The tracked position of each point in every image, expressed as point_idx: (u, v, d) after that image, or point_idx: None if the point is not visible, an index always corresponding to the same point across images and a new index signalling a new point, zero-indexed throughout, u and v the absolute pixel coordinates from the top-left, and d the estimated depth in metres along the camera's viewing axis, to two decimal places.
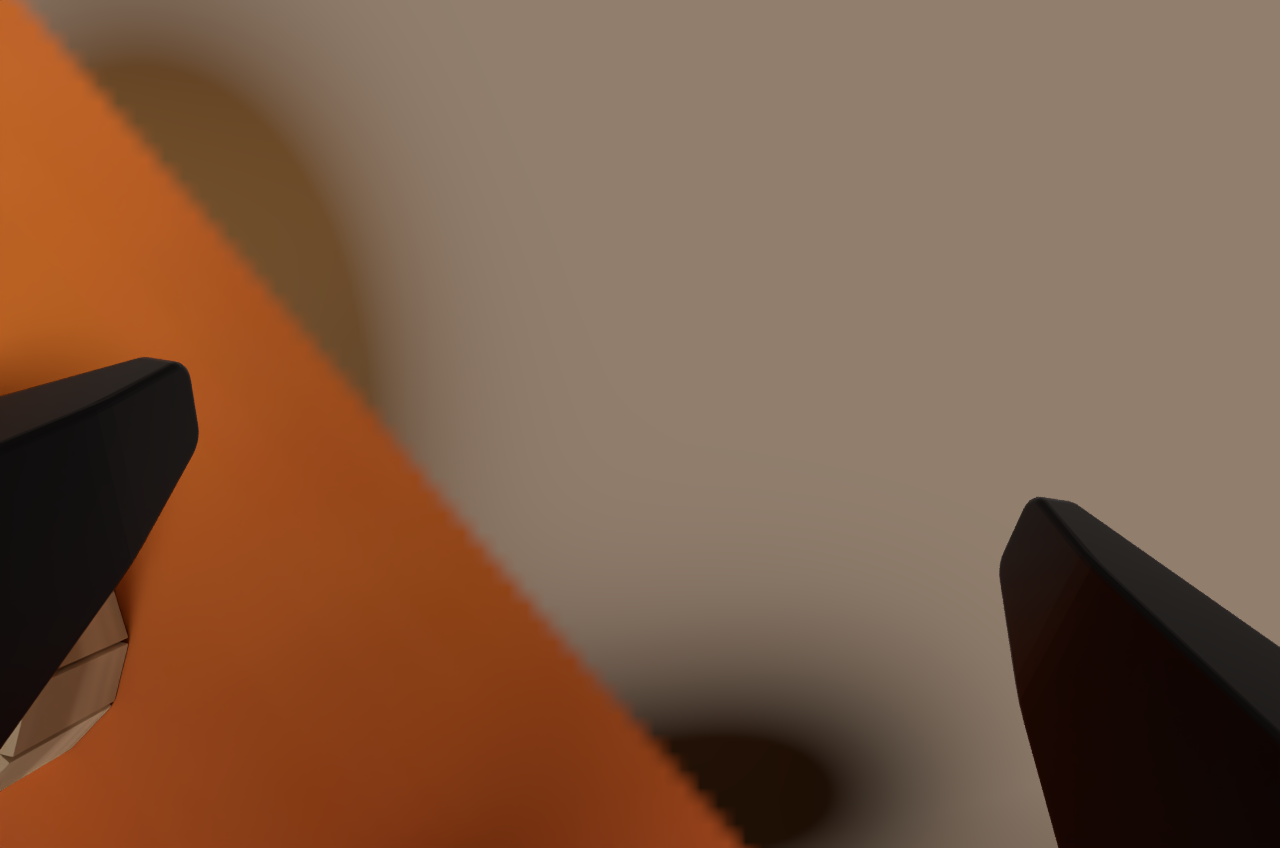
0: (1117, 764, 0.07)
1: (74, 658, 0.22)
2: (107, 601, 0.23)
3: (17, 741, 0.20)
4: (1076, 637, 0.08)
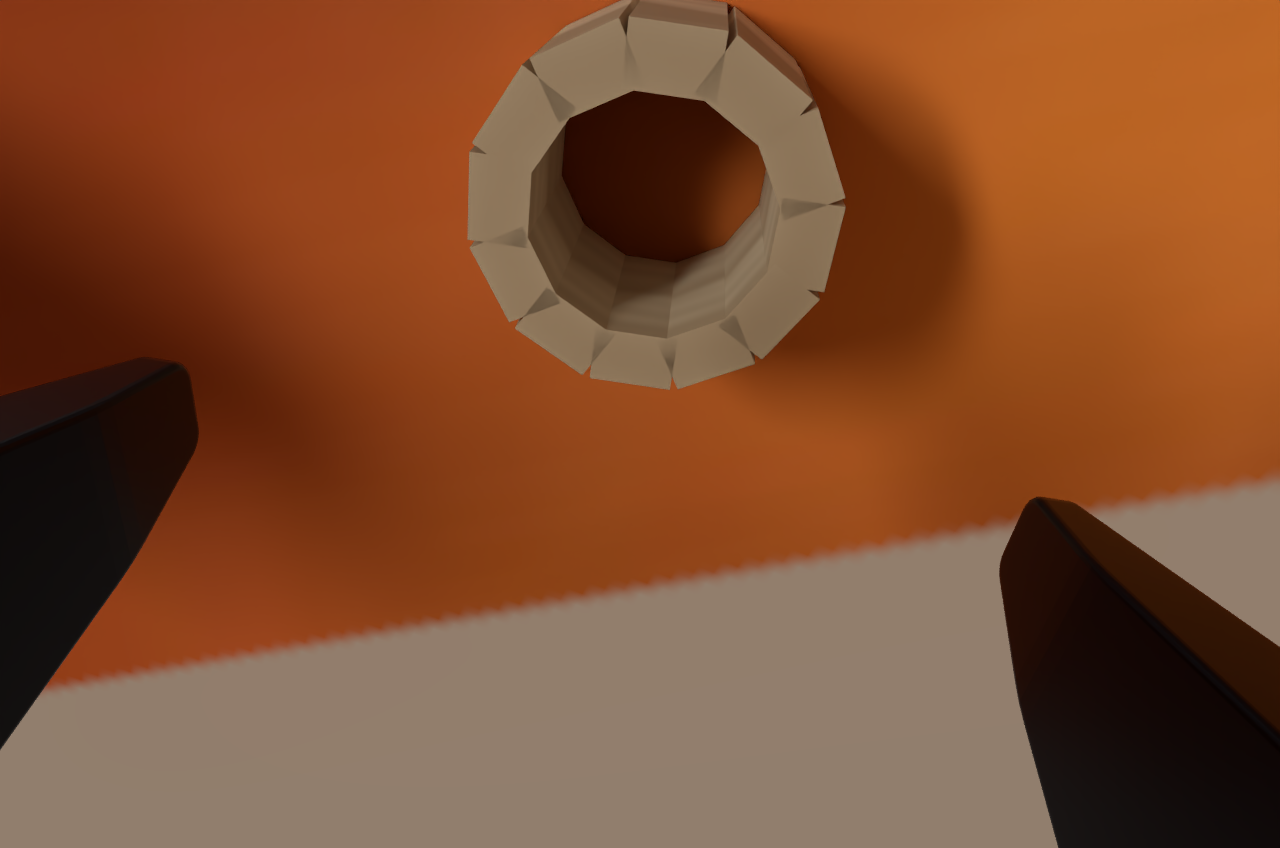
0: (1117, 764, 0.07)
1: None
2: None
3: (530, 337, 0.17)
4: (1076, 637, 0.08)
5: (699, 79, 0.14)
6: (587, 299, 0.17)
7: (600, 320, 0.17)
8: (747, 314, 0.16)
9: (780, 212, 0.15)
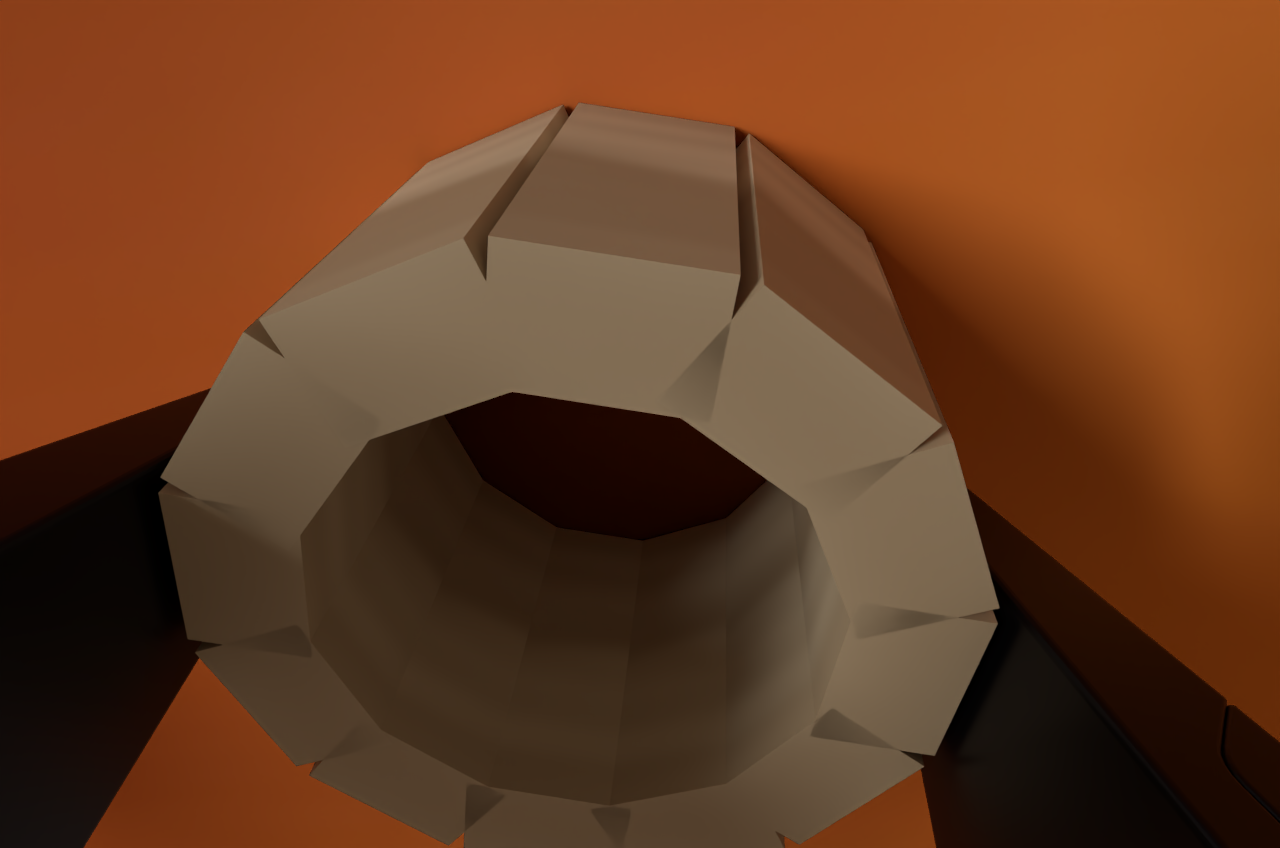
0: (979, 742, 0.07)
1: None
2: None
3: (341, 787, 0.09)
4: None
5: (668, 375, 0.06)
6: (458, 704, 0.09)
7: (478, 761, 0.09)
8: (772, 778, 0.08)
9: (850, 625, 0.07)
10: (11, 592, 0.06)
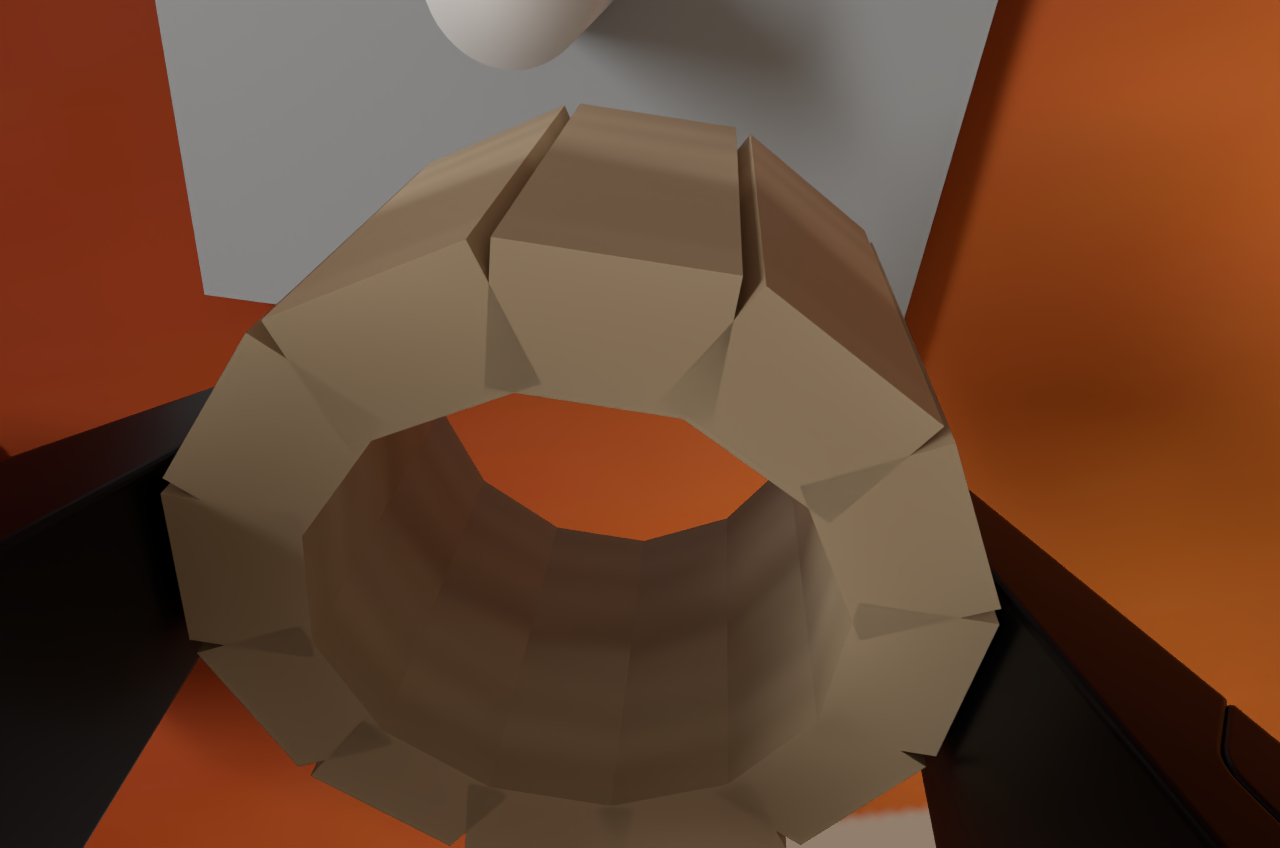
0: (979, 742, 0.07)
1: None
2: None
3: (343, 788, 0.09)
4: None
5: (670, 375, 0.06)
6: (460, 706, 0.09)
7: (480, 761, 0.09)
8: (774, 779, 0.08)
9: (852, 625, 0.07)
10: (11, 592, 0.06)
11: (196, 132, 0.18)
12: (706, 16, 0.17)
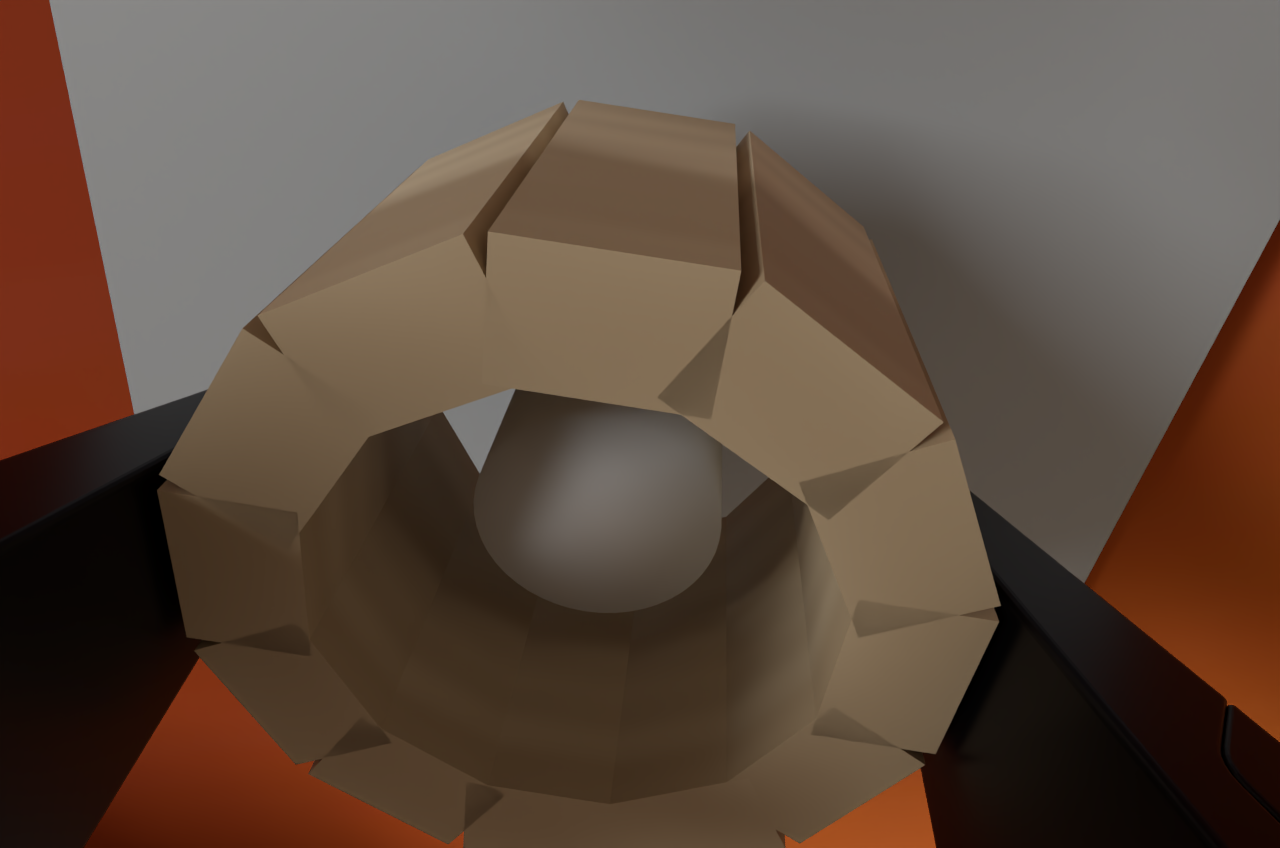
0: (979, 743, 0.07)
1: None
2: None
3: (341, 786, 0.09)
4: None
5: (668, 371, 0.06)
6: (457, 704, 0.09)
7: (478, 760, 0.08)
8: (773, 777, 0.08)
9: (851, 623, 0.07)
10: (11, 591, 0.06)
11: None
12: None
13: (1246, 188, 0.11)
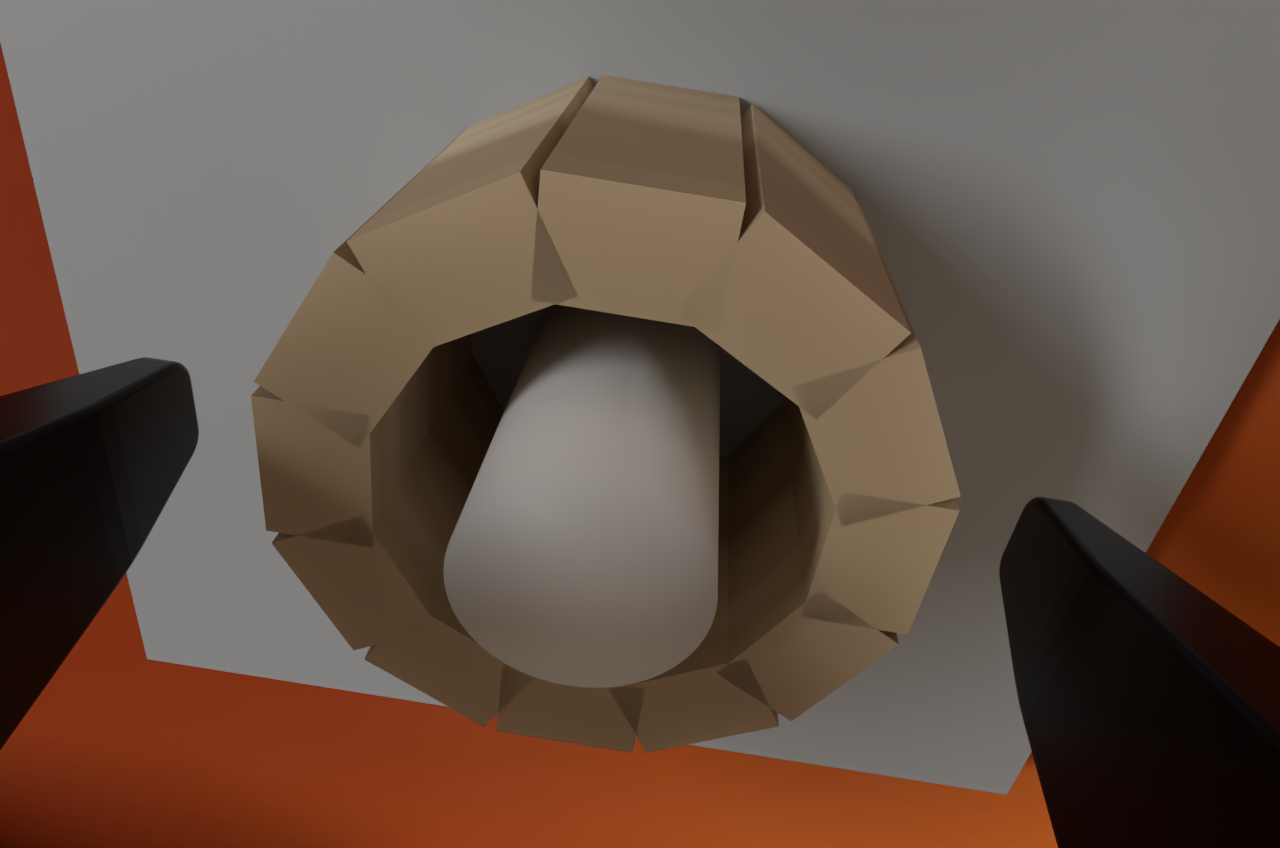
0: (1117, 764, 0.07)
1: None
2: None
3: (392, 671, 0.10)
4: (1076, 637, 0.08)
5: (685, 289, 0.07)
6: None
7: None
8: (768, 658, 0.09)
9: (835, 513, 0.08)
10: None
11: None
12: None
13: None
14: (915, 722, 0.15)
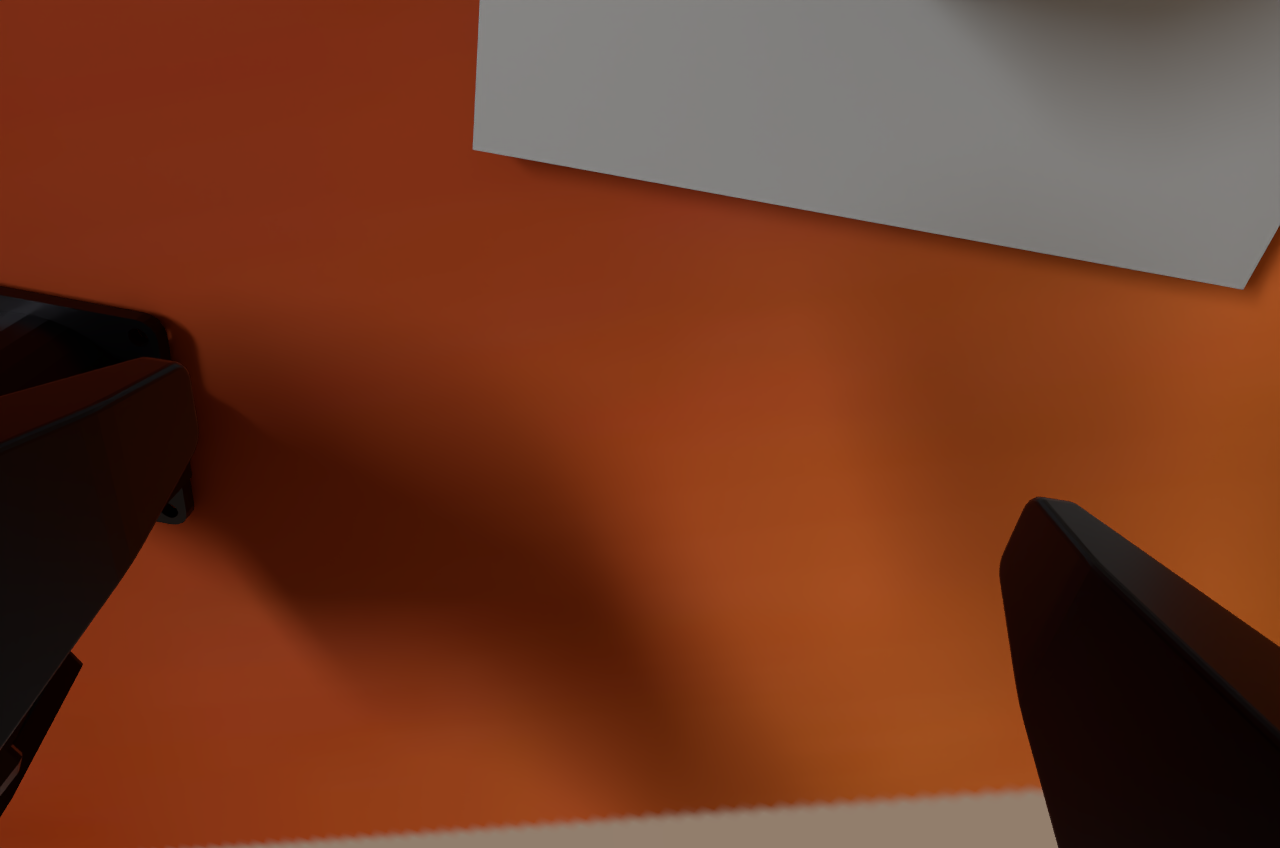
0: (1117, 764, 0.07)
1: None
2: None
3: None
4: (1076, 637, 0.08)
5: None
6: None
7: None
8: None
9: None
10: None
11: None
12: None
13: None
14: (1174, 199, 0.17)
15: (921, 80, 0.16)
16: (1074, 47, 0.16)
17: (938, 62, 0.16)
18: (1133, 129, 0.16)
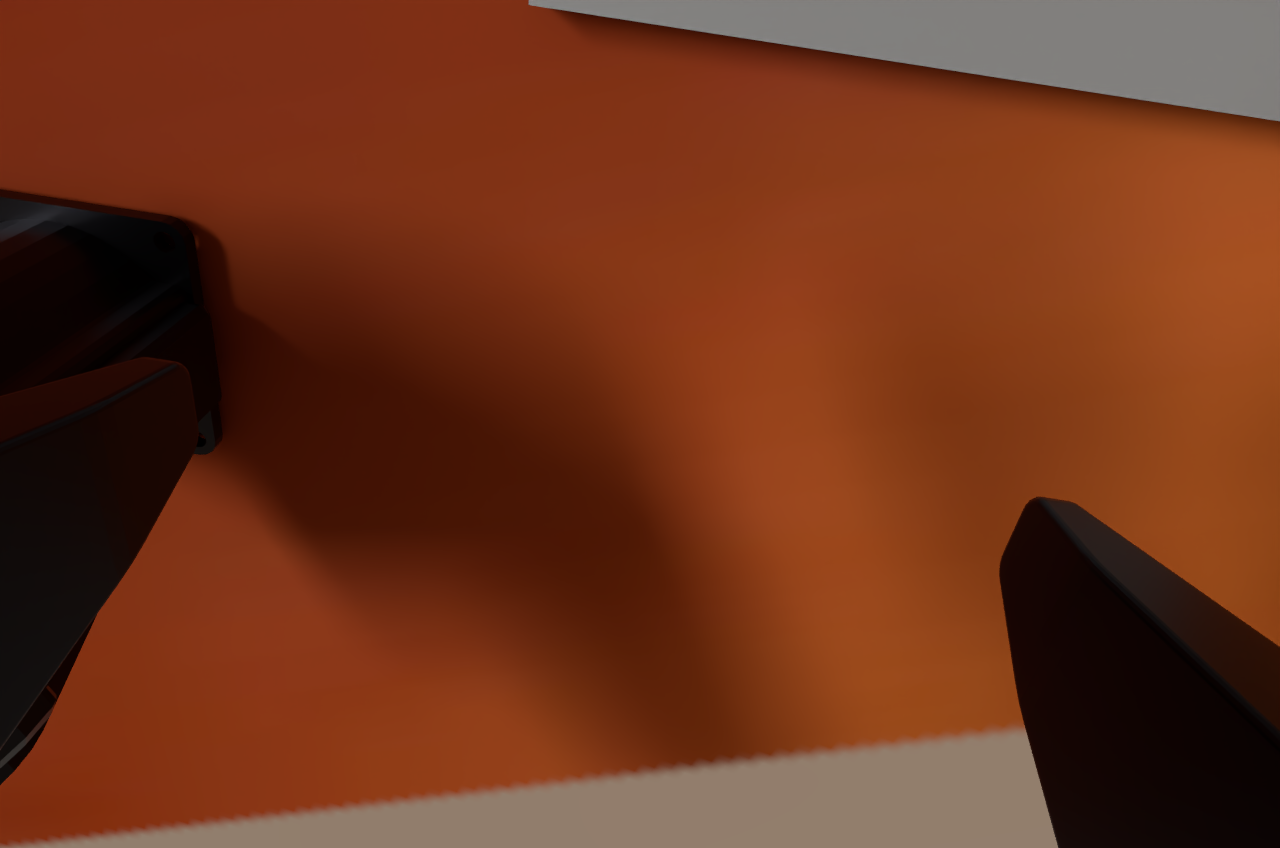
0: (1117, 764, 0.07)
1: None
2: None
3: None
4: (1076, 637, 0.08)
5: None
6: None
7: None
8: None
9: None
10: None
11: None
12: None
13: None
14: None
15: None
16: None
17: None
18: None
